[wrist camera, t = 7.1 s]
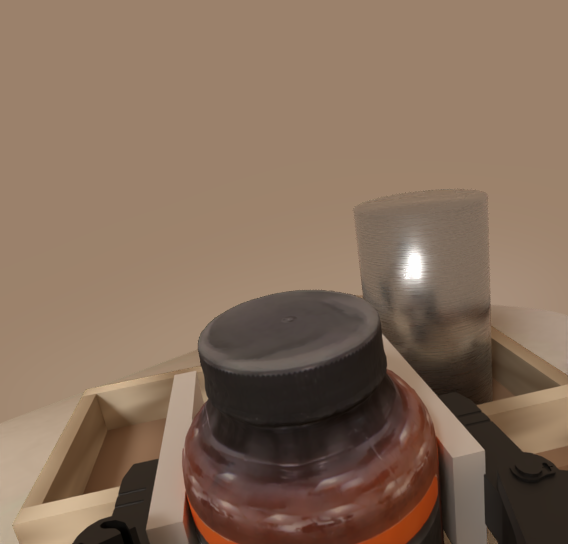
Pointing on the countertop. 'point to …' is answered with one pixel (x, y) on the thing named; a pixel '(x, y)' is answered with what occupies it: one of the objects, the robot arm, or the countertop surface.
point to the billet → (432, 284)
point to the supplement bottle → (308, 430)
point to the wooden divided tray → (157, 391)
